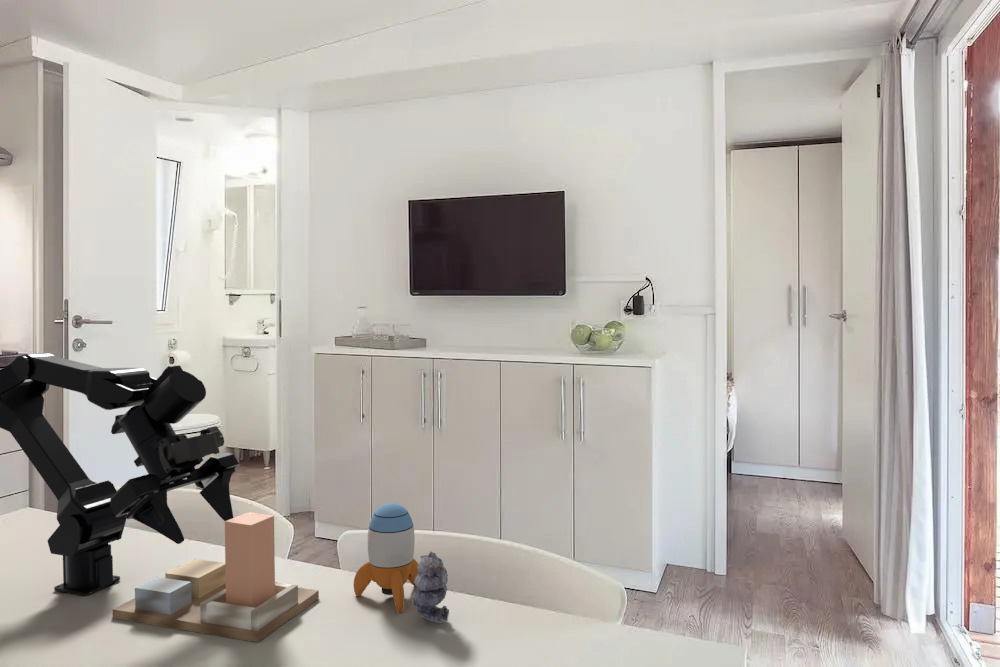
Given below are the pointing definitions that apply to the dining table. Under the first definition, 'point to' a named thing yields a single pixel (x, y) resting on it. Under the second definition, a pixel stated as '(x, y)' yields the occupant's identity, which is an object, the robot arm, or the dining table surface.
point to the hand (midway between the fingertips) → (207, 531)
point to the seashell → (431, 589)
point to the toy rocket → (389, 553)
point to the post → (249, 559)
